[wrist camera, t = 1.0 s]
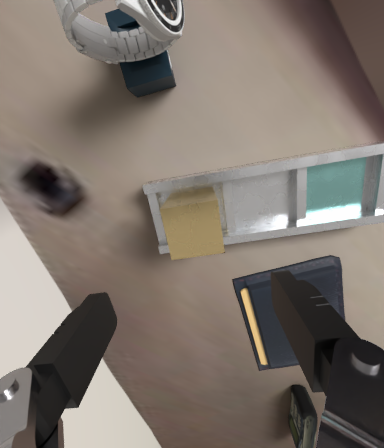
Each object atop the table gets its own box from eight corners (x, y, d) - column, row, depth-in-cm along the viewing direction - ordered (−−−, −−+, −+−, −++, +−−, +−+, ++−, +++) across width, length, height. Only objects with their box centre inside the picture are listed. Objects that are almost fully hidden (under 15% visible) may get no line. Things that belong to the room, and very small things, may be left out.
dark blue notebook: (353, 364, 32) (257, 378, 34) (345, 353, 33) (254, 367, 35) (350, 257, 25) (232, 281, 27) (340, 250, 27) (230, 274, 29)
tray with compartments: (149, 181, 24) (142, 185, 21) (377, 141, 22) (403, 139, 19) (164, 243, 27) (159, 254, 24) (368, 213, 25) (390, 221, 22)
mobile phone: (301, 415, 31) (298, 469, 36) (321, 414, 31) (316, 469, 35) (287, 381, 36) (287, 433, 40) (305, 380, 36) (302, 433, 40)
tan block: (170, 193, 24) (159, 209, 17) (212, 186, 23) (217, 199, 17) (178, 232, 25) (171, 260, 19) (218, 226, 25) (224, 252, 18)
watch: (194, 80, 21) (188, 7, 10) (121, 101, 21) (49, 55, 11) (180, 12, 19) (157, -159, 8) (102, 38, 20) (-6, -87, 9)
